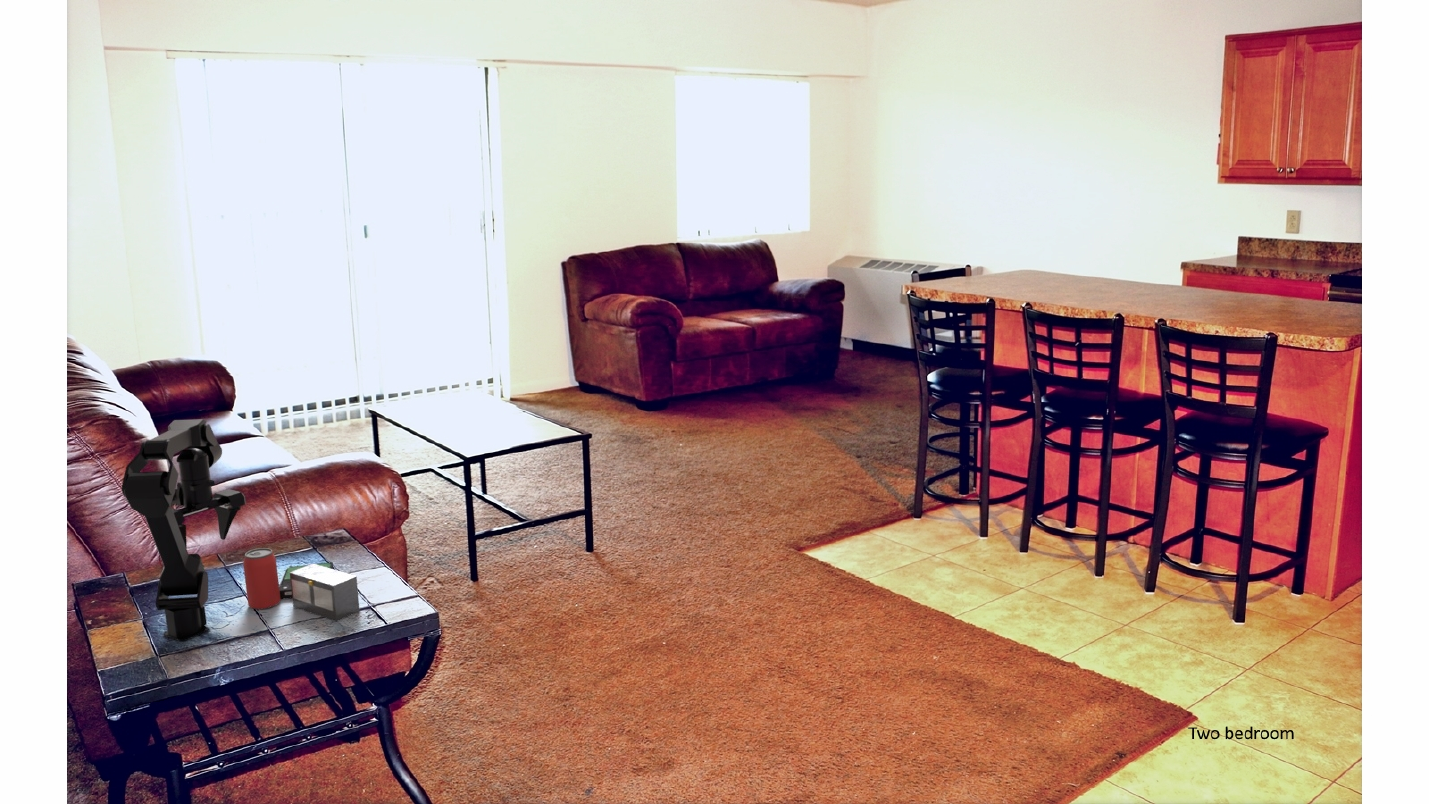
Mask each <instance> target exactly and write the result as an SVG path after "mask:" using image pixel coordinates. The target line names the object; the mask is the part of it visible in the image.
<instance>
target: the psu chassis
mask: <svg viewBox="0 0 1429 804" xmlns="http://www.w3.org/2000/svg"><path fill="white" fill-rule="evenodd" d="M309 564H310V565H309ZM309 564H307V565H308V566H305V567H303V568H300V569H298V570H295V571H292V572H290V580H291V590H292V606H293V608H294V609H298V610H302V611H305V612H306V613H310V614H313V615H315V616H319V617H322V618H326V619H328V620H332V621H335V622H339V621H342V620H343V619H345V618H347V617H350V616H352V615H354V614H357V613H359V612H360V611H361V610H360V600H359V599H360V598H359V589H358V578H357V575H353V574H350V573H347V572H343V571H340V570H336V569H330V568H327V567H323V566H320V565H317V564H318V563H309Z"/></svg>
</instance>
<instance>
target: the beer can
mask: <svg viewBox="0 0 1429 804" xmlns="http://www.w3.org/2000/svg"><path fill="white" fill-rule="evenodd" d="M242 566H243V573H244V581H245V582H244V583H245V591H246V598H247V607H249V608H250V609H253V610H266V609H271V608H273V607H275V606H277V605H278V604H279V603H280V602H281V600H282V599H280V590H279V586H280V583H279V575H278V566H277V559H276V557H275V554H274V552H273V549H271V548H267V547H263V548H262V547H258V548H254V549H251V550H248V551H247V552H245V554H244V559H243V564H242Z"/></svg>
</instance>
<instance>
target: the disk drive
mask: <svg viewBox="0 0 1429 804" xmlns="http://www.w3.org/2000/svg"><path fill="white" fill-rule="evenodd" d="M310 564H311V563H309V564H305V565H304V564H303V565H297V566H295V565H294V566H293V565H289V567H287V568H286V569H285V571H284V573H283V577H282V579H281V582H280V583H279V590H280V599H281V600H290V599H292V590H291V580H290V572H292V571H295V570H298V569H300V568H303V567H305V566H308V565H310ZM316 564H317V565H320V566H323V567H327V568H330V569H334V568H335V567H334V562H332V561H331V562H323V563H322V562H321V563H319V562H318V563H316ZM334 570H335V569H334Z"/></svg>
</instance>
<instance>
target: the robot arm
mask: <svg viewBox="0 0 1429 804" xmlns="http://www.w3.org/2000/svg"><path fill="white" fill-rule="evenodd" d="M177 454H178V455H177ZM175 455H177V457H176V463H178V469H179V472H178V470H177V468H176V466H175V465H174V462H173V460H174V456H175ZM222 455H223V449H222V447H221V445H220V444H219V442H218V440H217V438H216V436H215V433H214V432H213V429H212V427H211V425H210V424H209V423H207V420H206V419H204V418H201V419H198V418H197V419H174V420H172V422H170V424H169V425H168V426H167V431H166V432H163V433H161V434H160V435H157V436H156V437H153V438H151V439H146V441H142V442H141V445H140V447H139V452H138V453H137V454H136V456H135V457H134V458H133V459H131V461H130V462H129V463H128V464H127V465H126V467H125V471H124V474H123V479H122V484H121V493H122V496H124V498H125V499H126V502H127V503H128V505H129V507H130V508H131V509H132V510H134V511H136V512H137V513H139V514H140V515H141V516H143V517H144V518H145V521H146V524H147V527H148V529H149V531H150V533H151V536H152V539H153V542H154V544H155V547H156V549H157V552H158V554H159V558H160V559H161V562H162V565H163V568H162V571H161V573H160V576H159V581H158V582H157V583H158V585H157V591H156V592H157V593H156V598H155V607H156V609H157V611H163V610H164V615H165V621H166V622H165V624H166V630H165V631H163V636H165V637H168V638H171V639H173V640H175V641H178V642H186V641H187V640H190V639H192V638H194V637H196V636H199V635H202V634H204V633H207V632H209V631H210V630H211V628H210V626H207V624H208V623H207V613H206V607H205V606H204V605H205V604H206V603H207V601H208V600H209V574H208V571H206V570H205V565H204V564H203V561H202V557H201V555H200V554H199V553H189V552H188V549H187V547H188V546H187V544H188V543H187V525H186V524H183V523H184V521H185V518H186V517H189V516H194V515H196V514H199V513H202V512H206V511H210V510H212V509H214V512H216V515H217V524H218V531H219V532H218V533H219V537H220V540H223V541H225V540H226V538H227V536H228V533H229V530H230V529H231V526H232V523H233V521H234V519H235V517H236V515H237V514H238V512H239V511H240V510H241V509H242V508H241V507H242V506H245V505H246V504H247V503H246V496H245V495H244V493H243V492H242V491H238V490H234V489H230V488H228V489H225V490H221V491H218V492H215V493H214V494H213V489H212V487H213V486H215V485H216V484H215V480H214V479H211V473H210V472H211V471H210V468H211V467H213V465H214V464H215V463H217V462H218V461H219V460H220V459H221V458H222ZM160 460H161V461H162V460H163V461H164V460H167V462H168V464H169V468H168V471H166V470H157V471H143V469H144V468H145V467H146V466H147V465H148V464H149V461H160ZM178 478H179V479H180V481H178ZM175 505H176V506H178V507H183V508H178V509H177V508H172V506H175ZM192 595H194V596H192ZM195 595H197V596H195ZM174 596H176V597H174ZM177 596H179V597H177ZM180 596H186V597H180ZM187 596H188V597H187ZM171 597H172V598H171Z"/></svg>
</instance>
